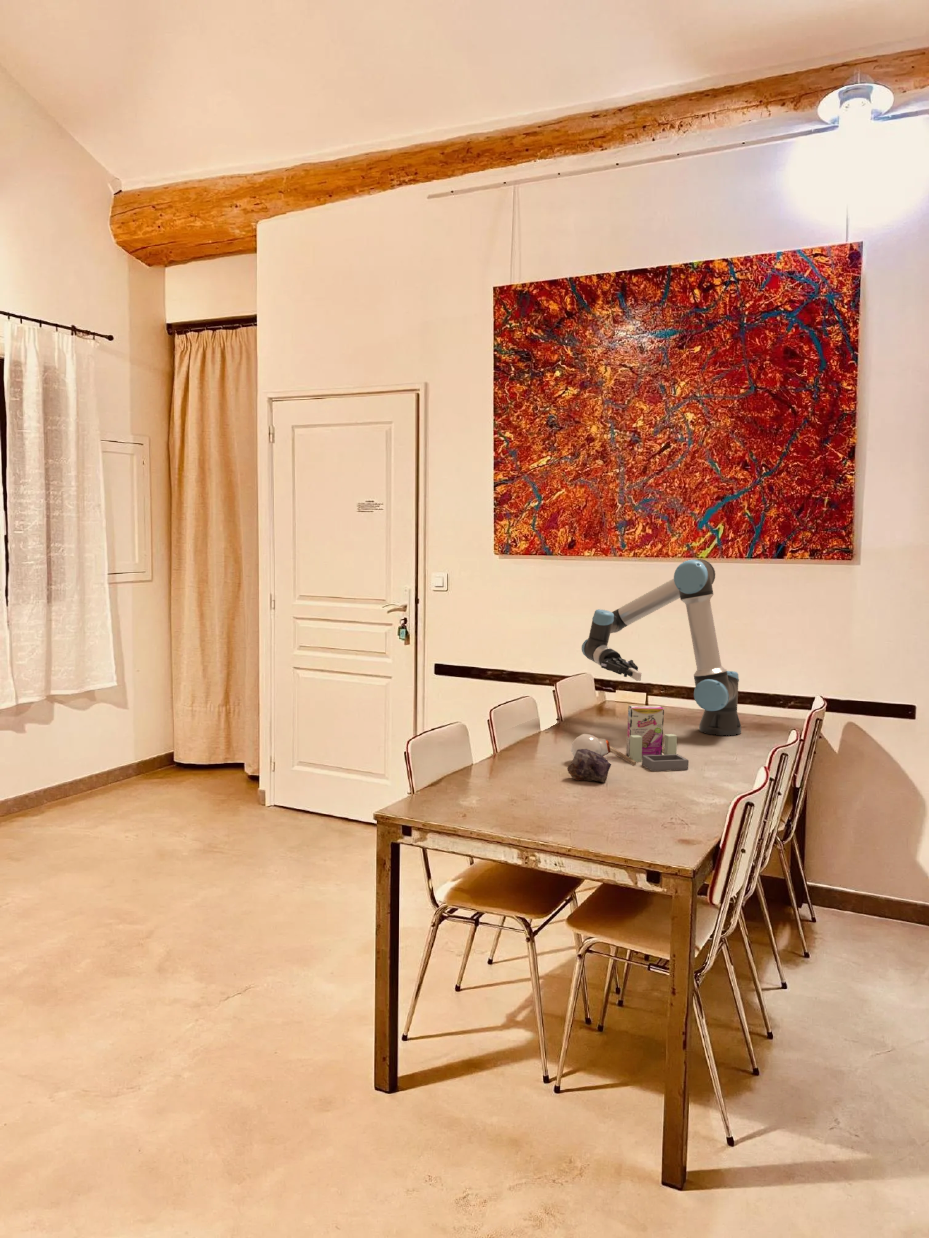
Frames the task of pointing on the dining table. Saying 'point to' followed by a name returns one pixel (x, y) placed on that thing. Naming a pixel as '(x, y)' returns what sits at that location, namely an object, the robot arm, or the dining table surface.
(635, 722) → the candy bar box
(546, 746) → the dining table surface
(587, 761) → the rock
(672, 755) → the tray
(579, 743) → the potion bottle
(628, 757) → the lane rails
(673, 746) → the posts
